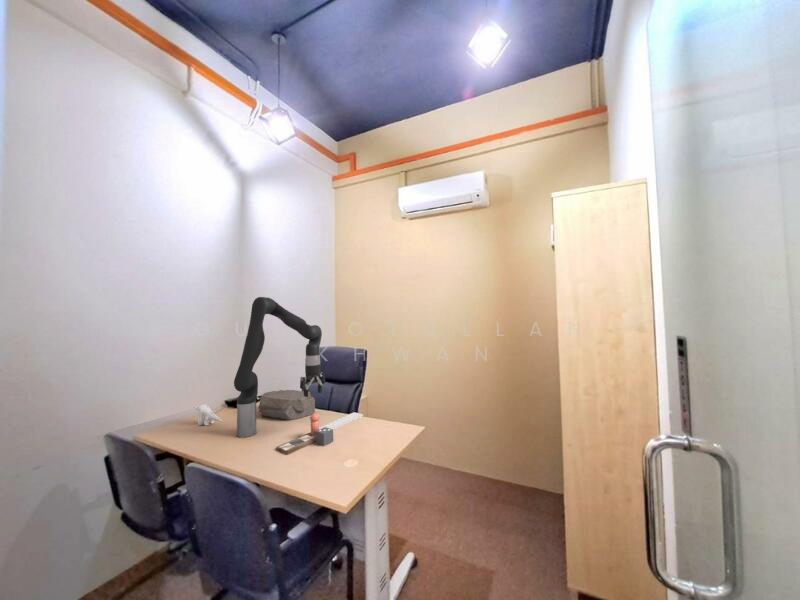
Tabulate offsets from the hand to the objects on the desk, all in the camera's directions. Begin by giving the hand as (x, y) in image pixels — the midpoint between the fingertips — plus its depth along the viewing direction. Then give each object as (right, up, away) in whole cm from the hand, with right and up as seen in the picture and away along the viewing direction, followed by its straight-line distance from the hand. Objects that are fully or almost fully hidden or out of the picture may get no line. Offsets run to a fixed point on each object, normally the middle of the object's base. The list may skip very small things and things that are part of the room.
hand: (313, 394), depth 158 cm
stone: (-27, -24, +37) cm, 52 cm away
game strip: (-4, -22, -7) cm, 24 cm away
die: (+8, -22, -7) cm, 24 cm away
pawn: (+1, -20, -1) cm, 20 cm away
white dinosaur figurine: (-68, -25, +21) cm, 75 cm away
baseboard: (+10, -23, +20) cm, 32 cm away
